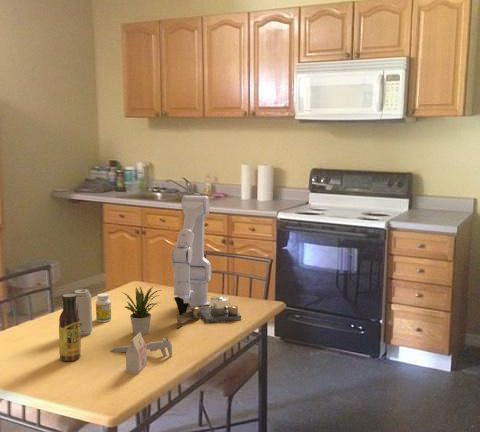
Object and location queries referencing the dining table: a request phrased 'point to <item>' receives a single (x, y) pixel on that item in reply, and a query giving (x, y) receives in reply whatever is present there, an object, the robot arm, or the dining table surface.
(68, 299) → the sauce bottle
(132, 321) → the house plant
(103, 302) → the supplement bottle
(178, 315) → the ball-topped bar
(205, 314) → the levelling base
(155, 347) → the caliper
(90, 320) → the energy drink can
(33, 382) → the dining table surface
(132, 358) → the paper snack bag
